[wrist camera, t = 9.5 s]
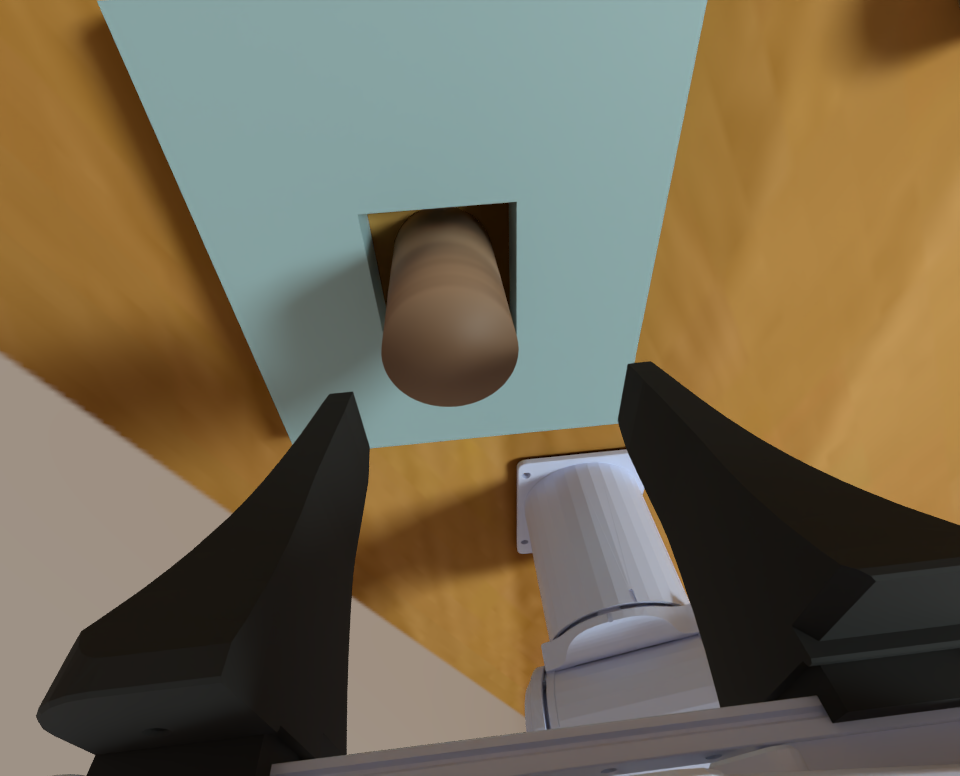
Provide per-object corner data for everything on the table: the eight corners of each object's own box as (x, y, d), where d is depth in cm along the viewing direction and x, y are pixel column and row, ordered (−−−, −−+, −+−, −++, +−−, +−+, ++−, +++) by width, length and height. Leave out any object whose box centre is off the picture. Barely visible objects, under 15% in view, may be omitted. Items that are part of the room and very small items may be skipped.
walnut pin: (493, 295, 20) (518, 400, 15) (401, 303, 20) (393, 412, 15) (490, 201, 18) (518, 287, 12) (385, 210, 18) (368, 301, 12)
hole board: (609, 397, 25) (622, 423, 23) (305, 426, 24) (297, 455, 23) (682, -33, 14) (714, -38, 12) (134, 0, 13) (97, 0, 12)
